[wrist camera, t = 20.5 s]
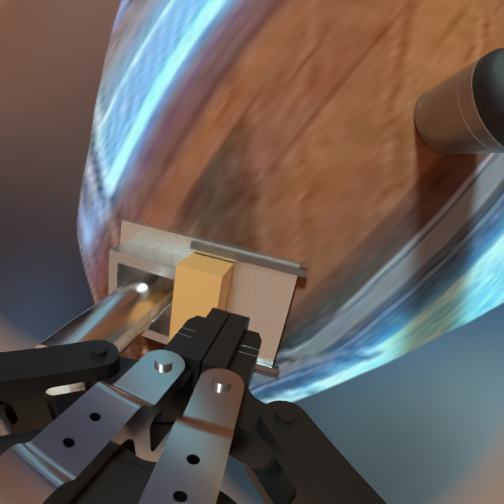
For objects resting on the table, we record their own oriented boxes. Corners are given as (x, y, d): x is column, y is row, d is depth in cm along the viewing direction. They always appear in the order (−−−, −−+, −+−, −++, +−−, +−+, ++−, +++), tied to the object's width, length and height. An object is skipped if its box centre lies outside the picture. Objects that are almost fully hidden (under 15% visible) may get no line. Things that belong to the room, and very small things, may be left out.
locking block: (233, 263, 43) (222, 277, 38) (218, 347, 47) (207, 367, 42) (192, 252, 44) (176, 264, 38) (182, 335, 48) (168, 354, 43)
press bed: (308, 263, 43) (306, 279, 37) (277, 367, 48) (272, 392, 42) (127, 218, 46) (102, 226, 40) (122, 317, 52) (102, 334, 45)
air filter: (167, 314, 48) (69, 416, 24) (135, 289, 48) (24, 373, 24) (185, 284, 45) (80, 386, 22) (151, 258, 45) (28, 336, 22)
